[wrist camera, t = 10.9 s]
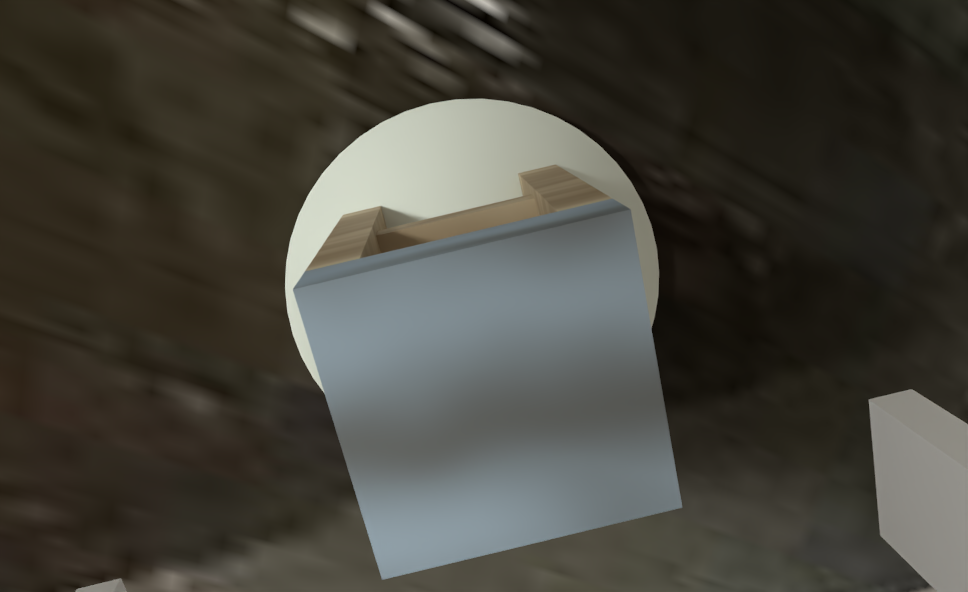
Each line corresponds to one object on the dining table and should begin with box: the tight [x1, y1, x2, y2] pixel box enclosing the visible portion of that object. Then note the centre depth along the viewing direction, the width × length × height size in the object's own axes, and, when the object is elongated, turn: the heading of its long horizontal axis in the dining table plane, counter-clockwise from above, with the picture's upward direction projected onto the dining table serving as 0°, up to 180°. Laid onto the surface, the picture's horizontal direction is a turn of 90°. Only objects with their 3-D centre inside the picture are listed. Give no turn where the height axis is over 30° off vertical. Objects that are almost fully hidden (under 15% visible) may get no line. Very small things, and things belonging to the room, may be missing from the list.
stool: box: [293, 165, 682, 580], centre depth 27 cm, size 9×9×12 cm
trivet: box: [285, 99, 659, 392], centre depth 33 cm, size 16×16×1 cm
